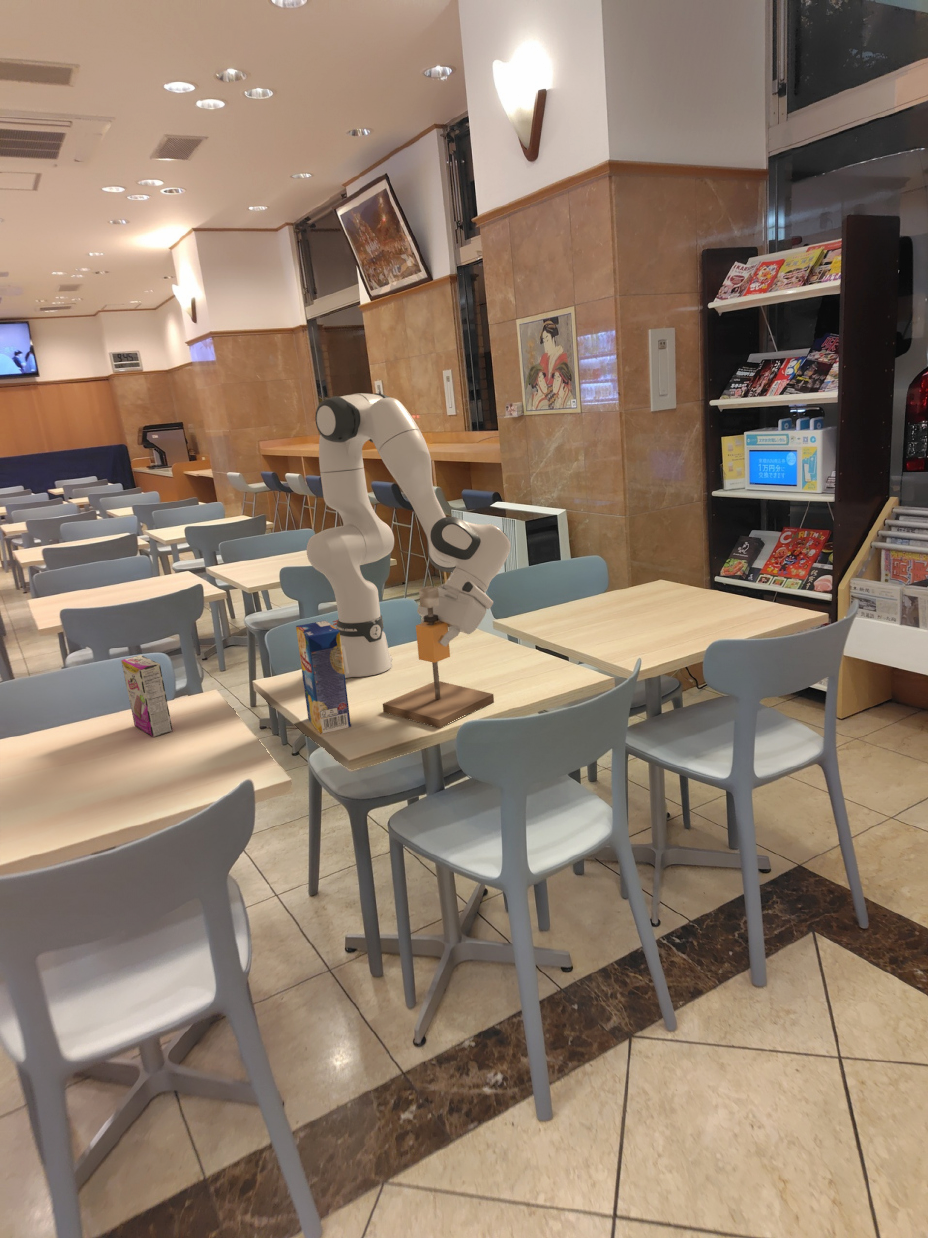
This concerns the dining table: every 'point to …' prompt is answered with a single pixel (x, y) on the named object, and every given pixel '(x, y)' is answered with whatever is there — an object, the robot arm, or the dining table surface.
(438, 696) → the cord stand
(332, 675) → the blue food box
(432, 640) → the marker sleeve
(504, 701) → the dining table surface
